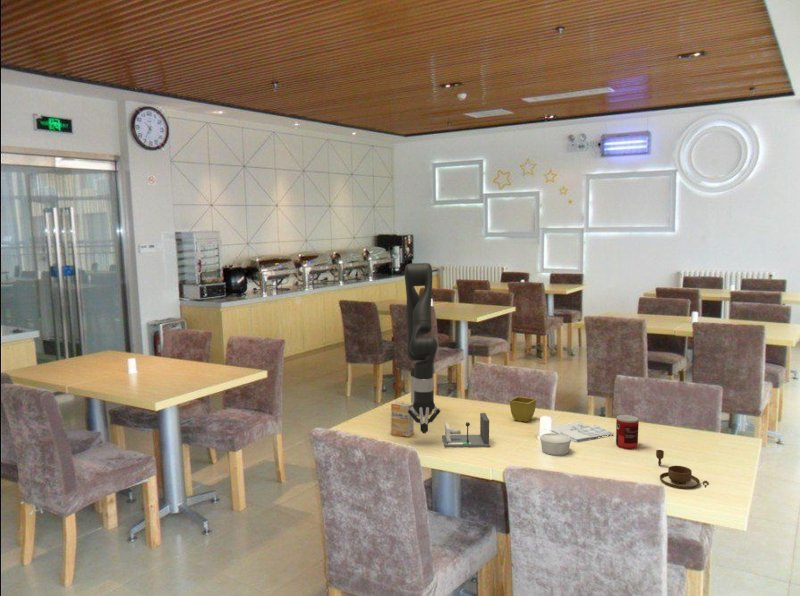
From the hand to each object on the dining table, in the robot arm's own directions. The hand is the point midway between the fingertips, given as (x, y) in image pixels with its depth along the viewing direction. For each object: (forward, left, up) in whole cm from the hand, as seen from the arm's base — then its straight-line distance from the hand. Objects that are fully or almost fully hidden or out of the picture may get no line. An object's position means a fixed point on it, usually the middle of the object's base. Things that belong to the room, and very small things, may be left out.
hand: (424, 432), depth 249 cm
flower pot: (-27, +44, -4) cm, 52 cm away
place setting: (+39, +82, -5) cm, 91 cm away
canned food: (+8, +76, -4) cm, 76 cm away
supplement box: (-10, -8, -4) cm, 14 cm away
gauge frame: (0, +16, -4) cm, 16 cm away
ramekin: (+12, +48, -4) cm, 49 cm away
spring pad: (0, +11, -2) cm, 11 cm away
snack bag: (-10, +63, -5) cm, 64 cm away
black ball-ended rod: (+5, +16, -2) cm, 17 cm away
